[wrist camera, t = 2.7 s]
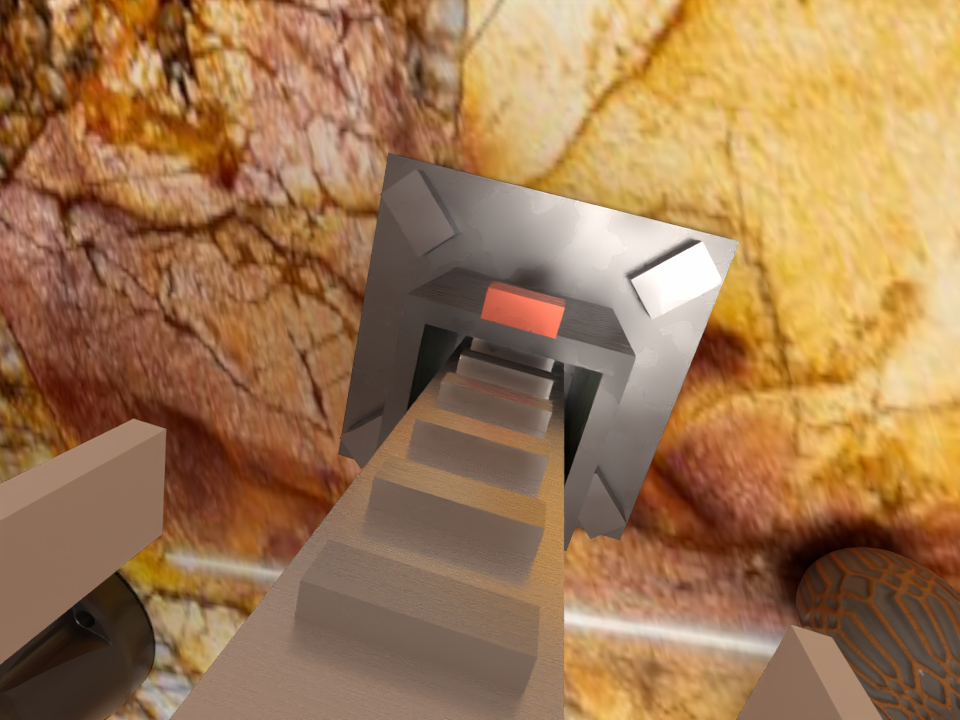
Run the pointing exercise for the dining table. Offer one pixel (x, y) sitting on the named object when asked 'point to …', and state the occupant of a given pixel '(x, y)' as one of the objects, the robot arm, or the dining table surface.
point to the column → (424, 569)
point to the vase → (888, 629)
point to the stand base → (535, 317)
